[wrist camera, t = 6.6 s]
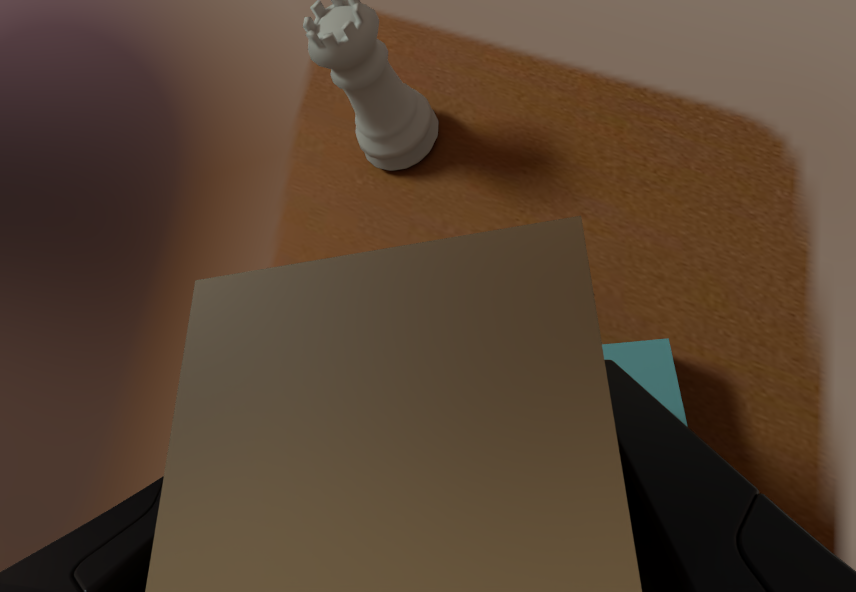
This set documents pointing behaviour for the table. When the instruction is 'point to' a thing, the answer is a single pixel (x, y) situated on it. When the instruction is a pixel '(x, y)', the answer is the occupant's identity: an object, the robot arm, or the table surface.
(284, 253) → the table surface
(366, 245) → the table surface
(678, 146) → the table surface
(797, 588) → the robot arm
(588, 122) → the table surface
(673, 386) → the base block
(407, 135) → the rook chess piece
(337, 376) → the tan wooden block
